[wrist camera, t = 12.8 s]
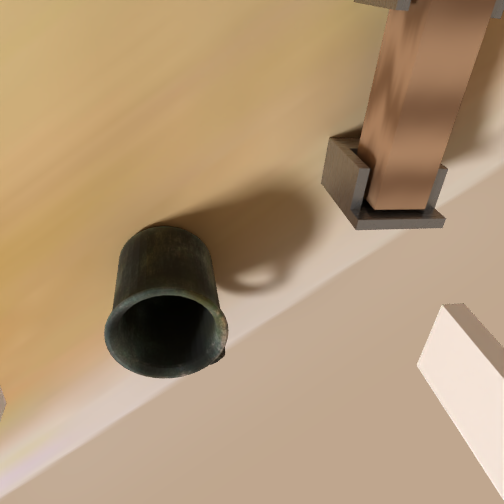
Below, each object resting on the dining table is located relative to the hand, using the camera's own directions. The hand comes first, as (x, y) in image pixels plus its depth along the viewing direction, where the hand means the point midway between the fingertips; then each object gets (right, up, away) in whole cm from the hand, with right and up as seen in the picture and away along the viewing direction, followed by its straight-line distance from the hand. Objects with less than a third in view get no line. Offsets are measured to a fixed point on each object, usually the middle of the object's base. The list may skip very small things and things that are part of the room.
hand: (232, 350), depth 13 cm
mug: (-8, +1, +37) cm, 38 cm away
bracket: (+12, +13, +33) cm, 37 cm away
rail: (+14, +18, +26) cm, 35 cm away
